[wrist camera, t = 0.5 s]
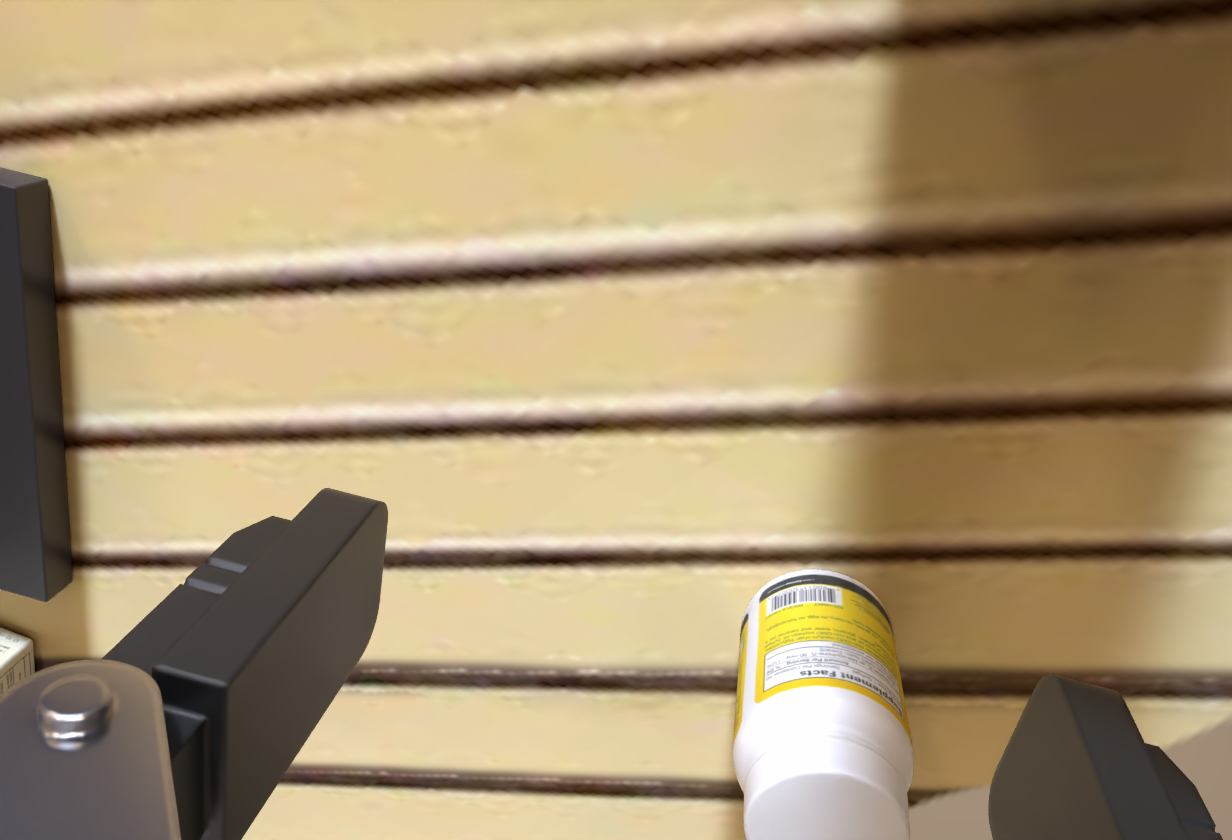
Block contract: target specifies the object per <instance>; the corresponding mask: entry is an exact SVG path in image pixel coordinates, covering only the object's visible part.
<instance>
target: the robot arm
mask: <svg viewBox="0 0 1232 840" xmlns="http://www.w3.org/2000/svg"><path fill="white" fill-rule="evenodd" d="M387 523H388V510H387V506H386V504H385V503H384V502H381V501H377V500H373V499H369V498H365V497H361V496H357V495H353V494H350V493H346V492H342V491H338V490H334V489H330V488H325V489H323V490H321V491H320V492H319V493H318V494H317V495H316V496H315V497H314V498H313V499H312V500H311V501H310V502H309V503H308V504H307V505H306V506H305V508H304V509H303V510H302V511H301V512H300V513H299V514H298V515H297V516H296V517H295V518H294V519H293V520H292V521H290V520H286V519H283V518H279V517H275V516H271V517H269V518H266V519H264V520H262V521H260V522H257V523H255V524H253V525H251V526H249V527H246V528H244V529H242V530H240V531H237V532H235V533H233V534H232V535H231V536H230V537H229V538H228V539H227V540H226V541H225V542H224V543H223V544H222V545H221V546H220V547H219V548H218V549H217V550H215V551H214V552H213V553H212V554H211V555H210V556H209V557H208V559H207V562H206V564H204V563H202V564H201V565H200V566H199V567H198V568H197V569H196V570H194V571H193V572H192V573H191V574H190V575H189V576H188V577H187V578H186V581H185V583H184V585H182V584H180V585H179V586H178V587H177V588H176V589H175V590H173V591H172V592H171V593H170V594H169V595H168V596H167V597H166V598H165V599H164V600H163V601H162V602H161V603H160V604H159V605H158V606H157V607H156V608H155V609H154V610H152V611H151V612H150V613H149V614H148V615H147V616H146V617H145V618H144V619H143V620H142V621H141V622H140V623H139V624H138V625H137V626H136V627H135V628H134V629H133V630H131V631H130V632H129V633H128V634H127V635H126V636H125V637H124V638H123V639H122V640H121V641H120V642H119V643H118V644H117V645H116V646H115V647H114V648H113V649H112V650H110V651H109V652H108V653H107V654H106V655H105V656H104V657H103V658H102V659H88V660H78V661H72V662H67V663H62V664H58V665H54V666H51V667H48V668H45V669H43V670H40V671H38V672H35V673H33V674H31V675H29V676H27V677H25V678H24V679H22V680H20V681H18V682H17V683H16V684H14V685H13V686H11V687H10V688H9V689H7V690H6V691H5V692H4V693H3V694H2V695H1V696H0V840H241V839H242V838H243V836H244V835H245V833H246V831H247V830H248V828H249V827H250V825H251V824H252V822H253V821H254V819H255V818H256V816H257V815H258V813H259V812H260V810H261V809H262V807H263V806H264V804H265V803H266V801H267V800H268V798H269V796H270V795H271V793H272V792H273V790H274V789H275V787H276V786H277V784H278V783H279V781H280V780H281V778H282V777H283V775H284V774H285V772H286V771H287V769H288V768H289V766H290V764H291V763H292V761H293V760H294V758H295V757H296V755H297V754H298V752H299V751H300V749H301V748H302V746H303V745H304V743H305V742H306V740H307V739H308V737H309V736H310V734H311V732H312V731H313V729H314V728H315V726H316V725H317V723H318V722H319V720H320V719H321V717H322V716H323V714H324V713H325V711H326V710H327V708H328V707H329V705H330V704H331V702H332V700H333V699H334V697H335V696H336V694H337V693H338V691H339V690H340V688H341V687H342V685H343V684H344V682H345V681H346V679H347V678H348V676H349V675H350V673H351V672H352V670H353V668H354V667H355V665H356V664H357V662H358V661H359V659H360V658H361V656H362V655H363V653H364V651H365V649H366V647H367V645H368V643H369V640H370V638H371V635H372V632H373V629H374V626H375V623H376V619H377V615H378V609H379V603H380V593H381V583H382V573H383V563H384V553H385V543H386V533H387ZM989 823H990V828H991V832H992V837H993V840H1223V839H1222V837H1221V835H1220V834H1219V833H1216V832H1215V823H1214V821H1213V820H1212V818H1211V816H1210V814H1209V812H1208V810H1207V808H1206V806H1205V804H1204V802H1203V800H1202V798H1201V796H1200V794H1199V793H1198V790H1197V789H1196V787H1195V785H1194V784H1193V783H1192V782H1191V781H1190V780H1189V779H1188V778H1187V777H1186V775H1184V774H1183V772H1182V771H1181V770H1180V769H1179V768H1178V767H1177V766H1176V765H1175V764H1174V763H1173V762H1172V761H1171V759H1169V757H1167V755H1166V754H1165V753H1164V752H1163V751H1162V750H1161V749H1160V748H1159V747H1158V746H1154V745H1150V744H1146V743H1144V741H1143V738H1142V736H1141V734H1140V732H1139V730H1138V728H1137V726H1136V724H1135V722H1134V720H1133V718H1132V715H1131V713H1130V711H1129V709H1128V707H1127V705H1126V703H1125V701H1124V699H1123V697H1122V696H1121V695H1120V694H1119V693H1118V692H1117V691H1115V690H1112V689H1108V688H1104V687H1100V686H1096V685H1092V684H1088V683H1084V682H1080V681H1076V680H1072V679H1068V678H1065V677H1061V676H1057V675H1053V674H1048V675H1045V676H1044V677H1043V678H1042V679H1041V680H1040V681H1039V682H1038V683H1037V685H1036V687H1035V689H1034V690H1033V693H1032V695H1031V697H1030V699H1029V701H1028V703H1027V705H1026V707H1025V709H1024V711H1023V713H1022V716H1021V718H1020V720H1019V722H1018V724H1017V726H1016V728H1015V730H1014V732H1013V734H1012V737H1011V739H1010V741H1009V743H1008V745H1007V747H1006V749H1005V751H1004V753H1003V755H1002V758H1001V760H1000V762H999V764H998V766H997V768H996V771H995V773H994V776H993V780H992V784H991V788H990V795H989Z"/></svg>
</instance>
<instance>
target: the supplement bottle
mask: <svg viewBox="0 0 1232 840" xmlns="http://www.w3.org/2000/svg"><path fill="white" fill-rule="evenodd" d="M732 758H733V764H734V769H735V774H736V777H737V779H738V782H739V784H740V787H741V789H742V790H743V792H744V817H743V823H744V832H745V836H746V840H910V826H909V815H908V797H907V792H908V790H909V788H910V785H911V782H912V777H913V771H914V755H913V747H912V740H911V734H910V728H909V723H908V718H907V712H906V706H905V700H904V694H903V689H902V682H901V676H900V671H899V665H898V659H897V653H896V647H895V641H894V636H893V630H892V625H891V621H890V618H889V615H888V613H887V611H886V609H885V607H884V605H883V604H882V602H881V601H880V599H879V598H878V597H877V596H876V595H875V594H874V593H873V592H872V591H871V590H870V589H869V588H868V587H866V586H865V585H864V584H862V583H860V582H859V581H857V580H855V579H853V578H851V577H848V576H846V575H843V574H840V573H837V572H833V571H828V570H819V569H807V570H800V571H794V572H791V573H787V574H784V575H782V576H780V577H778V578H776V579H774V580H772V581H770V582H769V583H767V584H766V585H765V586H764V587H762V588H761V589H760V590H759V591H758V592H757V593H756V594H755V596H754V597H753V598H752V600H751V601H750V603H749V605H748V607H747V609H746V611H745V614H744V616H743V620H742V625H741V634H740V650H739V668H738V684H737V699H736V713H735V725H734V738H733V749H732Z"/></svg>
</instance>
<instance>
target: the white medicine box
mask: <svg viewBox="0 0 1232 840" xmlns="http://www.w3.org/2000/svg"><path fill="white" fill-rule="evenodd" d="M33 673H35V663H34V649H33V641H32V639H30V638H27V637H25V636H22V635H19V634H17V633H14V632H12V631H9V630H6V629H4V628H1V627H0V696H1V695H2V694H3V693H4V692H5V691H6V690H7V689H9V688H10V687H11V686H13V685H14V684H16V683H17V682H18V681H20V680H22V679H24V678H25V677H27V676H29V675H31V674H33Z"/></svg>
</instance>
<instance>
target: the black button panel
mask: <svg viewBox="0 0 1232 840" xmlns="http://www.w3.org/2000/svg"><path fill="white" fill-rule="evenodd" d="M72 580H73V578H72V562H71V546H70V530H69V514H68V498H67V482H66V466H65V450H64V434H63V418H62V402H61V386H60V370H59V354H58V338H57V322H56V306H55V290H54V274H53V258H52V242H51V226H50V210H49V194H48V181H47V179H44V178H40V177H36V176H32V175H28V174H24V173H20V172H16V171H12V170H8V169H4V168H0V589H1V590H4V591H8V592H11V593H15V594H19V595H22V596H26V597H29V598H33V599H36V600H40V601H44V602H48V601H49V600H50V599H52V598H53V597H54V596H55V595H57V594H58V593H59V592H60V591H61V590H63V589H64V588H65V587H66V586H67V585H69V584H70V583H71V582H72Z"/></svg>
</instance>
